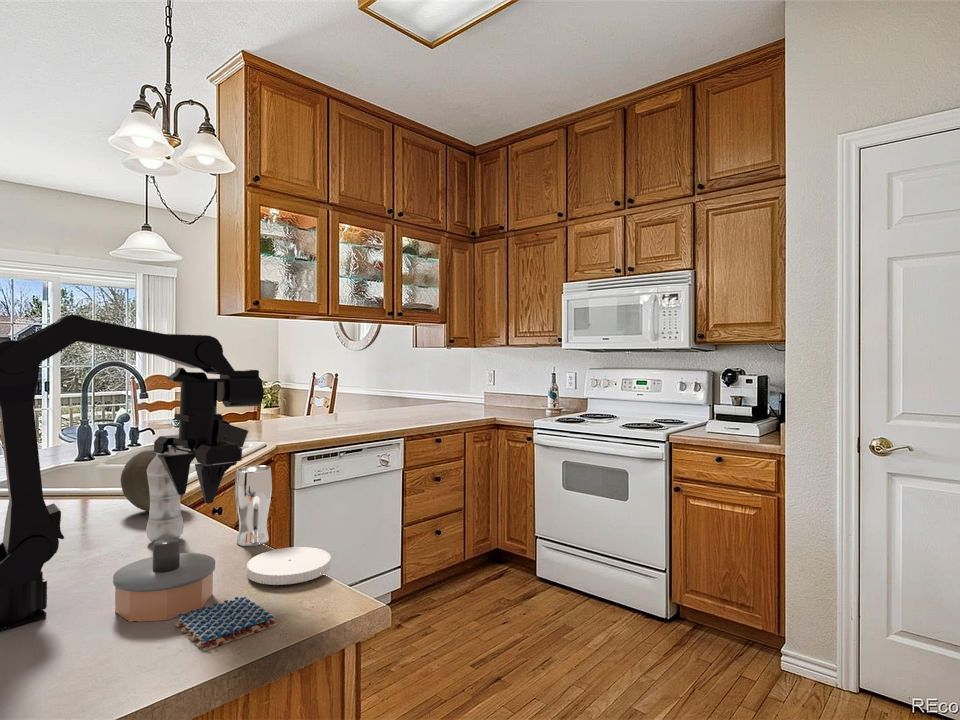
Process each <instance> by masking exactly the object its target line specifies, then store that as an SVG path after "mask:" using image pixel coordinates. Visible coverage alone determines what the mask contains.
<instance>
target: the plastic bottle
mask: <svg viewBox="0 0 960 720" xmlns="http://www.w3.org/2000/svg"><path fill="white" fill-rule="evenodd" d="M155 453H156V452H155ZM159 454H160V453H156V456H155V457H154V459H153V460H152V461H151V462H150V464H149V465H148V468H147V475H148V476H147V478H148V484H149V492H150V510H149V513H148V520H147V524H146V529H145V532H146V537H147V539H148V540H149V541H150V542H151V543H154V542H156V541H158V540H162V539H169V538H175V539H179V538H181V536H182V535H183V532H184V519H183V516H182V507H181V500H180V495H179V494H178V493H177V491H176V489H175V487H174V485H173V483H172V481H171V479H170V476H169V475H168V473H167V471H166V469H165V467H164V465H163V463H162V462H161V460H160V458H158V455H159Z"/></svg>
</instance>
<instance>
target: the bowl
mask: <svg viewBox="0 0 960 720" xmlns="http://www.w3.org/2000/svg"><path fill="white" fill-rule="evenodd" d="M114 587H115V586H114ZM213 587H214V571H213V572H212V573H211V574H210V575H209V576H207V577H205V578H204V579H201V580H199V581H197V582H194V583H191V584H188V585H185V586H181V587H177V588H173V589H167V590H161V591H151V592H132V591H125V590H121V589H118V588H116V587H115V591H114V592H115V593H114V594H115V599H114V613H116V614H118V615H119V616H120V617H121V618H123V619H124V620H126V621H127V620H128V621H127V622H129V623H134V622H133V621H138V622H157V621H168V620H171V618H172V619H175V618H177V617H179V616H178V614H183V615H185V613H186V614H189V613H191V612H190V611H191V610H195V611H198V610H201V609H202V607H205V604H206V603H207V602H208V601H209V599H210V598H211V597H212V596H213V593H214V589H213ZM200 608H201V609H200ZM197 609H198V610H197ZM188 612H189V613H188ZM174 617H175V618H174Z"/></svg>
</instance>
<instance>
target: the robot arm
mask: <svg viewBox="0 0 960 720" xmlns="http://www.w3.org/2000/svg"><path fill="white" fill-rule="evenodd" d="M75 343H81V344H88V345H94V346H100V347H104V348H105V347H106V348H111V349H117V350H123V351H128V352H129V351H130V352H135V353H141V354H147V355H152V356H155V357H159V358H161V359H164V360H167V361H169V362H172V363H175V364H178V365H181V366H184V367H188V368H191V369H199V370H201V371H202V372H201V371H200V372H199V371H187V370H186V369H185V368H184V367H177V368H176V369H175V371H174V372H173V373H171V374H170V375H169V376H167V377H166V380H167V381H169V382H174V383H175V382H176V383H180V394H179V395H180V397H179V399H180V400H179V413H174V417H173V419H174V420H175V421H179V423H178V434H171V435H159V436H158V438H157V439H156V440H154V443H153V450H154V452H156V453H160V454H159V455H158V458H160V460H161V462H162V463H163V465H164V467H165V469H166V471H167V473H168V475H169V476H170V479H171V481H172V483H173V485H174V487H175V489H176V491H177V493H178V494H179V495H183V494H184V495H185V494H186V493H187V489H188V481H189V476H190V467H191V463H192V462H193V461H194V460H196V462H197V463H194V468H195V471H196V475H197V478H198V482H199V486H200V490H201V493H202V496H203V500H204V503H205V504H207V505H208V504H213V503H214V501H215V498H216V495H217V493H218V489H219V488H220V484H221V483H222V479H223V477H224V475H225V473H226V472H227V471H228V470H229V469H231V468H232V467H234V466H236V465H237V464H238V462H241V461H242V460H243V447H244V444H245V442H246V439H247V436H248V433H249V430H248V429H246V428H245V429H244V428H241V427H238V426H235V425H232V424H231V423H230V421H228V420H225V419H224V416H223V414H222V413H217V409H218V408H217V405H218V404H217V403H218V402H219V403H220V402H221V403H222V404H223V406H224V407H225V408H241V407H242V408H243V407H244V408H245V407H246V408H247V407H248V408H249V407H259V406H260V405H261V404H262V403H263V400H264V394H265V387H264V386H263V382H262V379H261V377H260V371H259V369H245V370H235V369H234V367H233V366H232V365H231V363H230V362H229V361H228V359H227V358H226V357H225V355H224V349H223V345H222V343H221V342H220V341H219V339H218V338H216V337H214V336H211V335H209V334H208V335H205V334H178V333H177V334H175V333H174V334H173V333H162V332H158V331H157V332H156V331H152V330H147V329H142V328H141V329H140V328H135V327H132V326H126V325H122V324H121V325H120V324H116V323H110V322H106V321H100V320H97V319H96V320H95V319H90V318H85V317H83V316H81V315H79V314H69V315H65V316H61V317H59V318H58V319H57V320H56V321H55V322H52V323H51V324H49V325H47V326H45V327H43V328H41V329H39V330H37V331H34V332H32V333H30V334H29V335H27V336H25V337H23V338H21V339H19V340H15V339H10V340H4V341H0V427H1V436H2V445H3V447H2V448H3V453H4V454H3V456H4V464H5V475H6V483H7V492H8V500H9V501H8V505H7V510H6V514H5V515H6V516H5V521H4V529H3V537H2V538H3V539H2V541H1V542H0V632H1V631H3V630H7V629H10V628H14V627H17V626H20V625H23V624H24V625H25V624H27V623H30V622H34V621H38V620H42V619H43V618H46V617H47V612H46V611H45V610H46V609H47V607H48V580H46V579H44V577H43V576H44V575H43V574H44V573H43V571H42V569H43V567H44V564H46V563H47V562H48V561H50V560H51V559H52V558H53V557H54V556H55V555H56V554H57V552H58V550H59V546H60V545H59V543H60V540H64V539H65V536H64V534H63V533H62V529H61V521H62V511H61V510H60V508H59V507H58V506H57V505H56V504H55V503H51V504H48V505H47V504H46V501H45V499H44V494H43V483H42V474H41V464H40V462H41V461H40V453H39V445H38V444H39V443H38V437H37V435H38V434H37V425H36V417H35V407H34V406H35V405H34V404H35V397H36V394H37V393H36V392H37V389H38V382H39V381H38V380H39V374H40V366H41V362H44V361H45V360H47V359H50V358H51V357H53V356H55V355H56V354H58V353H59V352H61V351H63V350H64V349H66V348H68V347H70V346H71V345H74V344H75ZM207 374H208V375H219V378H214V377H213V378H212V377H211V378H210V377H209V378H208V376H207ZM184 495H183V496H184Z"/></svg>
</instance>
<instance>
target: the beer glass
mask: <svg viewBox="0 0 960 720" xmlns="http://www.w3.org/2000/svg"><path fill="white" fill-rule="evenodd" d="M271 469H272V468H271V466H267V465H247V466H241V467H238V468H237V469H236V475H235V481H234V482H235V484H234V486H235V487H234V497H235V507H236V512H237V517H238V527H239V528H238V534H237V539H236V544H237V546H239V545H240V547H245V546H246V547H245V548H247V547H256V546H257V547H258V546H261V544H262V545H264V544H266V543H268V542H269V533H268V517H269V510H270V505H271V498H272V491H273V482H272V480H273V479H272V470H271ZM253 540H254V541H253ZM259 543H260V544H259Z"/></svg>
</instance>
